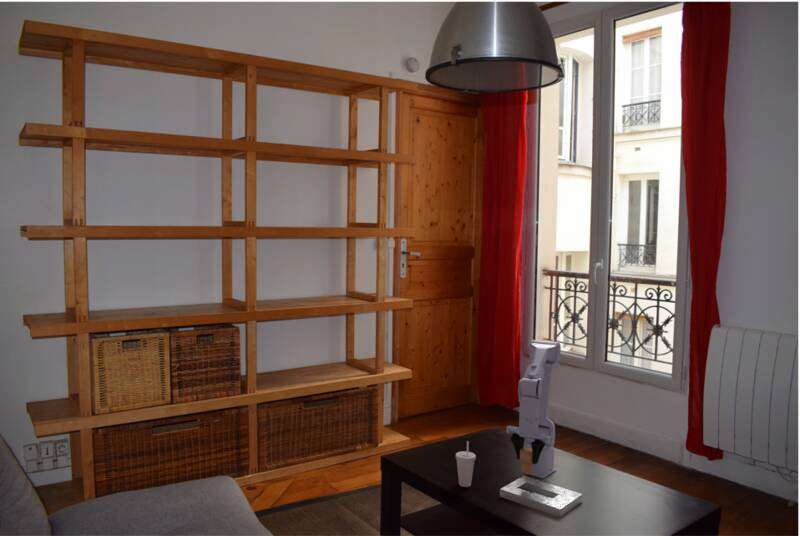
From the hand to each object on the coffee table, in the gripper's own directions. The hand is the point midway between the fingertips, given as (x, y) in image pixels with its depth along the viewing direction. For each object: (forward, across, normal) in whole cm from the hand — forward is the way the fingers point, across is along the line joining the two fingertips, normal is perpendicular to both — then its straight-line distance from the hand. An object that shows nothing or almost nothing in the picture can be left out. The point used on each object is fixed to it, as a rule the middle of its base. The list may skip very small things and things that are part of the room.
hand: (527, 460), depth 196 cm
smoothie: (+11, -18, -7) cm, 22 cm away
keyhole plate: (+10, +5, 0) cm, 12 cm away
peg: (+4, 0, 0) cm, 4 cm away
